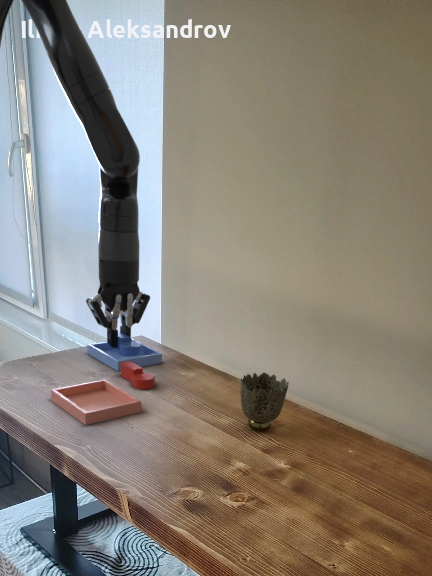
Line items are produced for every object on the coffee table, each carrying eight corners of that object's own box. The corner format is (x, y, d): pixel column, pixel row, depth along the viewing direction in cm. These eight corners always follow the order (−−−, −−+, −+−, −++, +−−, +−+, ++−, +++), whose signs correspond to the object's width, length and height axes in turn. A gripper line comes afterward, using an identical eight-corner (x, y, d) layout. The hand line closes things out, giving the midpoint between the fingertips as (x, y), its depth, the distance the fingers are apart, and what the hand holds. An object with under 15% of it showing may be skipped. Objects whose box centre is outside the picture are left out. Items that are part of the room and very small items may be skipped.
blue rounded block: (105, 345, 125) (105, 332, 123) (122, 342, 127) (122, 330, 126) (127, 357, 120) (127, 344, 118) (144, 354, 122) (144, 341, 121)
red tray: (51, 400, 103) (50, 389, 102) (105, 389, 109) (105, 379, 108) (85, 425, 96) (85, 413, 95) (141, 411, 102) (141, 401, 101)
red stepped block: (115, 376, 115) (115, 363, 113) (134, 373, 117) (134, 359, 116) (140, 391, 110) (140, 377, 108) (158, 387, 112) (159, 373, 111)
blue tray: (87, 353, 125) (87, 344, 124) (130, 346, 131) (130, 337, 130) (117, 371, 117) (117, 361, 116) (161, 362, 123) (162, 353, 122)
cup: (226, 425, 100) (230, 377, 96) (256, 414, 105) (262, 368, 101) (260, 442, 96) (266, 393, 92) (291, 430, 100) (298, 383, 96)
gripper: (138, 249, 122) (137, 336, 131) (75, 253, 114) (78, 345, 123) (161, 257, 118) (158, 346, 126) (96, 261, 110) (98, 356, 118)
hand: (118, 345), depth 124 cm, fingers closed on blue rounded block, 2 cm apart
